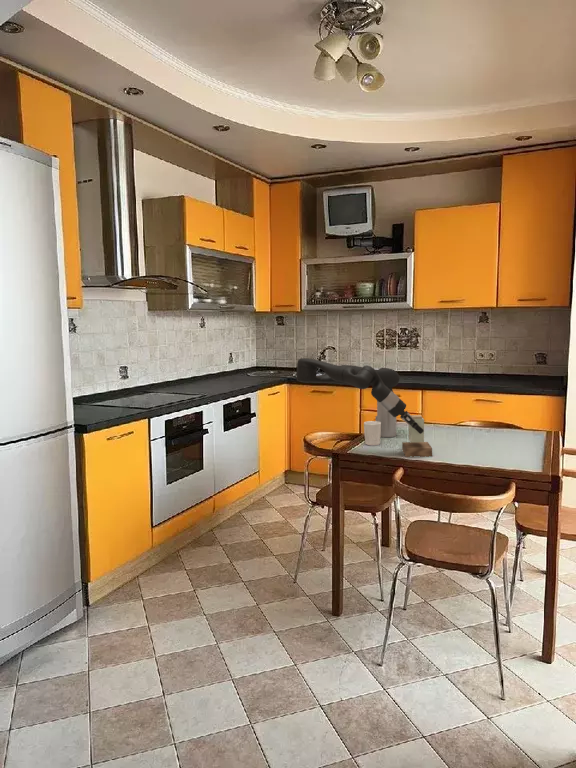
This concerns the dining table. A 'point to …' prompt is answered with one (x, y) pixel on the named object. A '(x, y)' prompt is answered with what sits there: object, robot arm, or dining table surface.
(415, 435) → the canister
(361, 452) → the dining table surface
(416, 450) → the walnut block
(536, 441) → the dining table surface
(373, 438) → the white cup
